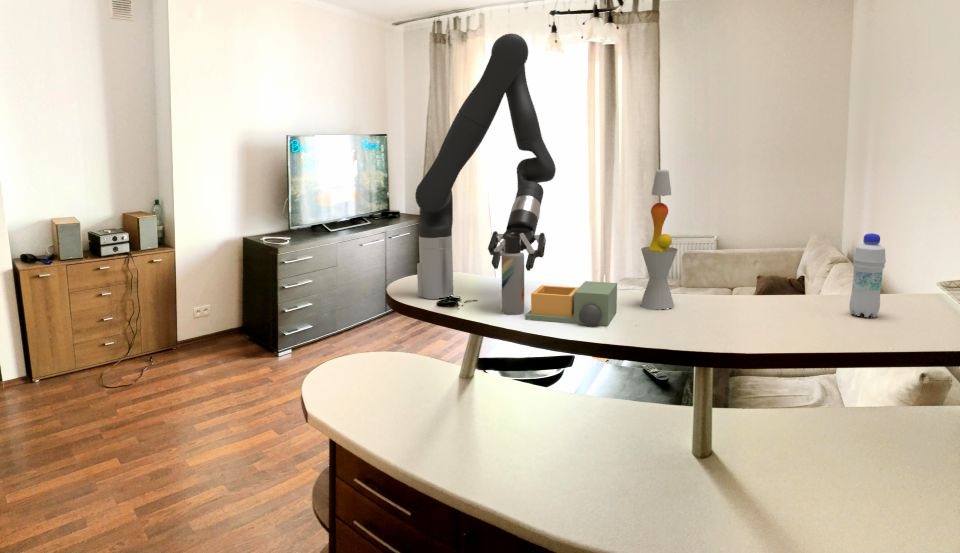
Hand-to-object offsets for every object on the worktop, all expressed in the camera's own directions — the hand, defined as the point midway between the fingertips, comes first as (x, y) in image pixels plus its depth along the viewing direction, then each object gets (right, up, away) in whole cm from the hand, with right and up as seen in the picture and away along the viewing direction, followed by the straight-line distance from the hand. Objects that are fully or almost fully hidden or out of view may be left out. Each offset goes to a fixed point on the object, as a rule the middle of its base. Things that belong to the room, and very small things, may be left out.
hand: (511, 268), depth 163 cm
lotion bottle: (+1, -11, +4) cm, 12 cm away
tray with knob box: (+15, -12, -1) cm, 19 cm away
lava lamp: (+38, -10, +8) cm, 40 cm away
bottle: (+85, -12, -5) cm, 86 cm away
